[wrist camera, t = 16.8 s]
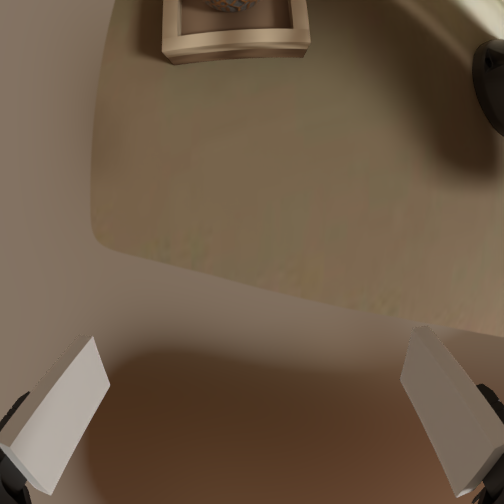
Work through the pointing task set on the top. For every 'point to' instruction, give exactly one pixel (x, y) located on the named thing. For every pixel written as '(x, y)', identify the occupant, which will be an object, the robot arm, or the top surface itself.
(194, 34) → the square wooden tray
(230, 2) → the vase
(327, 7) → the top surface
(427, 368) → the robot arm
